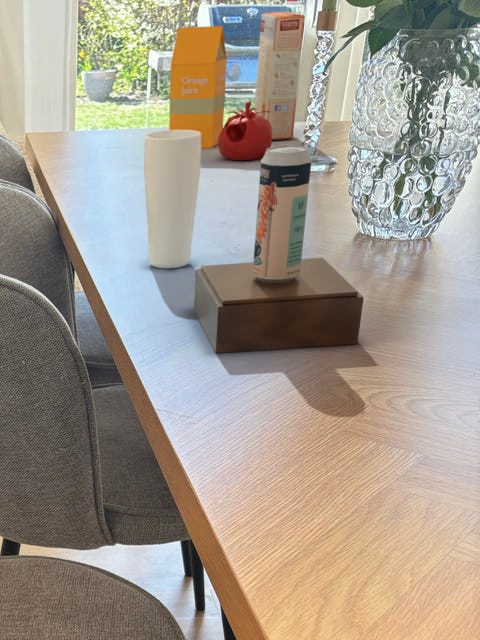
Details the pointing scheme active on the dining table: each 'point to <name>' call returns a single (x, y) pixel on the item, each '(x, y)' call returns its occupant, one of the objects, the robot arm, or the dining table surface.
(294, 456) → the dining table surface
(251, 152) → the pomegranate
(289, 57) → the cracker box
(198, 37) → the orange juice
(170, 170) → the drinking glass
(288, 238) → the beer can
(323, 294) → the walnut block
